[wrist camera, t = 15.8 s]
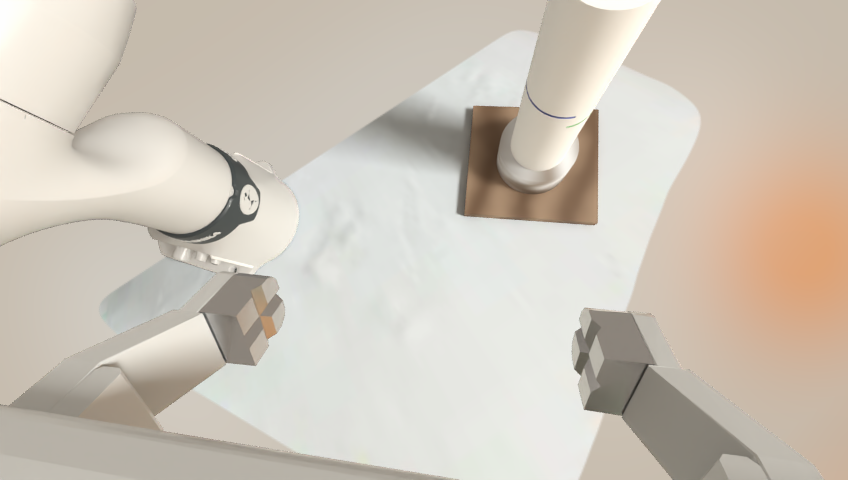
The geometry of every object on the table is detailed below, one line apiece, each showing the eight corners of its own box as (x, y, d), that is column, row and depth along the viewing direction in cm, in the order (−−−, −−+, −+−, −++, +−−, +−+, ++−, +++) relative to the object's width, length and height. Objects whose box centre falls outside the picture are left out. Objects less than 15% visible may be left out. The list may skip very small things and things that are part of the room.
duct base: (464, 216, 53) (464, 202, 47) (473, 110, 56) (474, 85, 50) (594, 225, 51) (612, 212, 44) (595, 114, 54) (612, 88, 48)
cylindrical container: (510, 120, 48) (556, -78, 24) (565, 119, 48) (671, -87, 23) (510, 171, 47) (559, 13, 23) (568, 170, 46) (682, 7, 22)
